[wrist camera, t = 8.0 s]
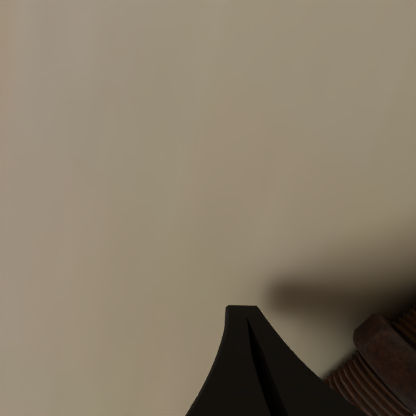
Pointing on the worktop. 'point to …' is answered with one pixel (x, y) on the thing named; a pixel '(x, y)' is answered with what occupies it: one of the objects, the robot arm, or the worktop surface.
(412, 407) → the bolt
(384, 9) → the worktop surface
